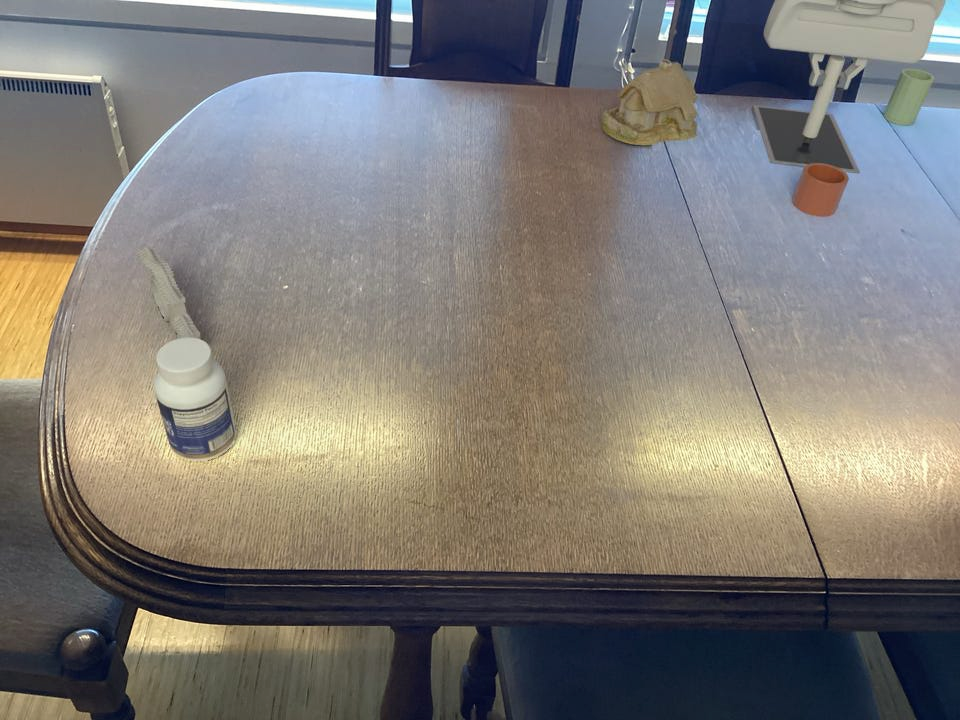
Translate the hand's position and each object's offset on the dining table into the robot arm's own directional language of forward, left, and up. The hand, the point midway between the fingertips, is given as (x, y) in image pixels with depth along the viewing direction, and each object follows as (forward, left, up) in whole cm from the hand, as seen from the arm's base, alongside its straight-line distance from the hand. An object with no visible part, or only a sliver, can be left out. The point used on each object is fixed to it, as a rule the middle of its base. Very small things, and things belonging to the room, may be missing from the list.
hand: (827, 86), depth 110 cm
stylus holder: (+2, +17, -9) cm, 19 cm away
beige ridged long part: (+70, +54, -9) cm, 89 cm away
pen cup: (-17, -14, -9) cm, 24 cm away
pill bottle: (+62, +68, -9) cm, 92 cm away
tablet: (0, -2, -9) cm, 9 cm away
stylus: (0, 0, -8) cm, 8 cm away
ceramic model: (+22, 0, -9) cm, 24 cm away
